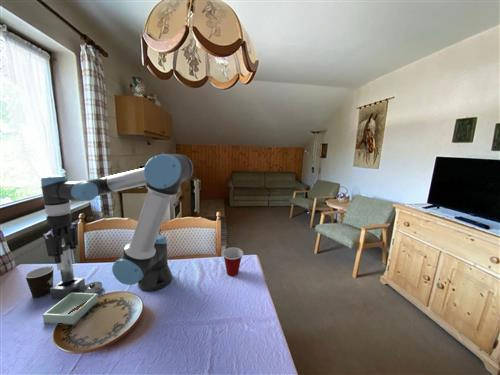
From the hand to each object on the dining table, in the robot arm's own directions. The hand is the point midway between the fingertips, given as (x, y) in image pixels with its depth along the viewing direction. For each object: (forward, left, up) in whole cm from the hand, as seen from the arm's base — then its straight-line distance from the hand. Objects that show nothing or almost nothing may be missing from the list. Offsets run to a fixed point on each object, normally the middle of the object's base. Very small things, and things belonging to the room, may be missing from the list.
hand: (66, 266), depth 89 cm
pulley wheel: (-9, -2, -13) cm, 16 cm away
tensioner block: (0, 0, -13) cm, 13 cm away
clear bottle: (0, 0, -6) cm, 6 cm away
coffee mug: (+11, -1, -13) cm, 17 cm away
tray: (-10, +10, -13) cm, 19 cm away
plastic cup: (-69, -20, -13) cm, 73 cm away
